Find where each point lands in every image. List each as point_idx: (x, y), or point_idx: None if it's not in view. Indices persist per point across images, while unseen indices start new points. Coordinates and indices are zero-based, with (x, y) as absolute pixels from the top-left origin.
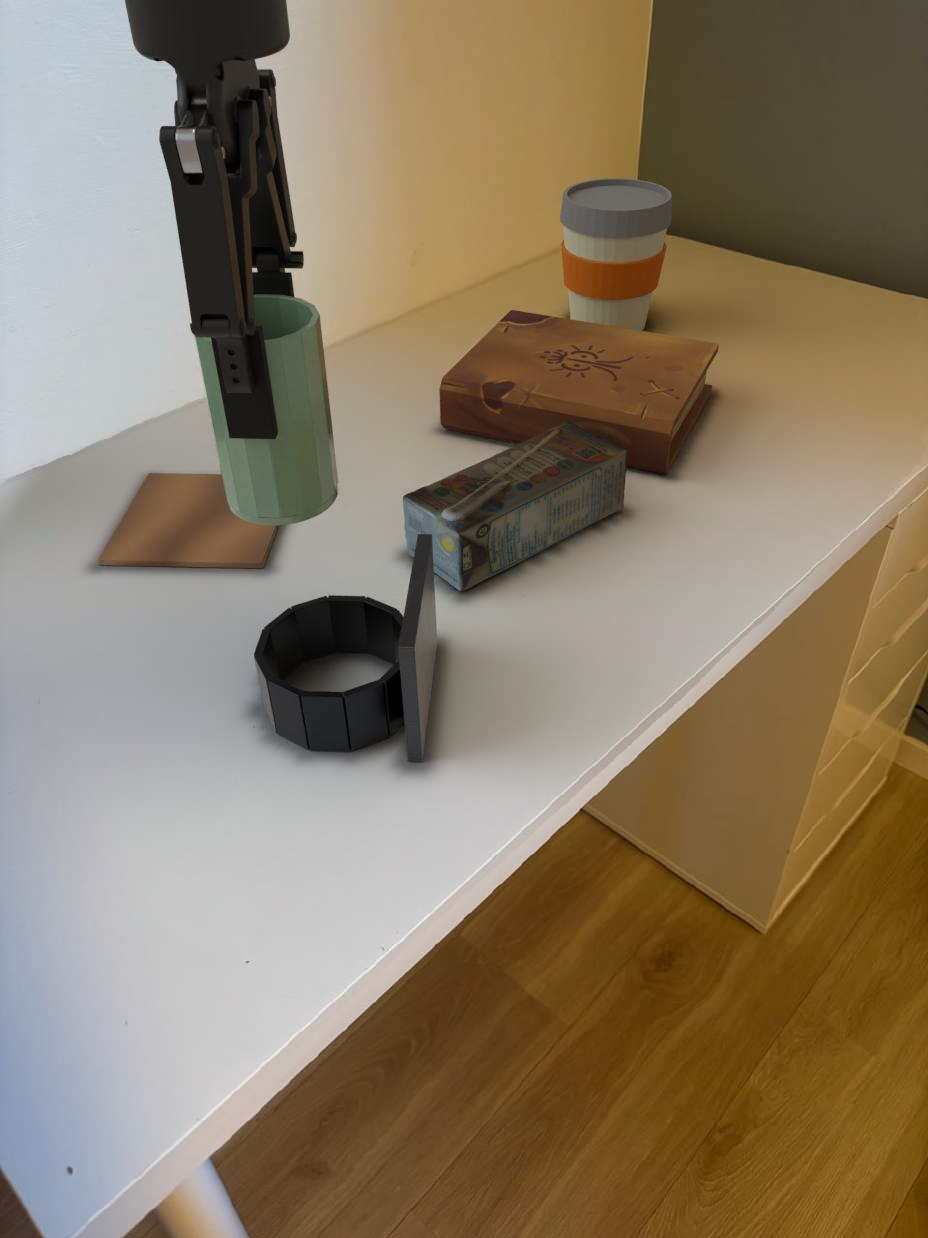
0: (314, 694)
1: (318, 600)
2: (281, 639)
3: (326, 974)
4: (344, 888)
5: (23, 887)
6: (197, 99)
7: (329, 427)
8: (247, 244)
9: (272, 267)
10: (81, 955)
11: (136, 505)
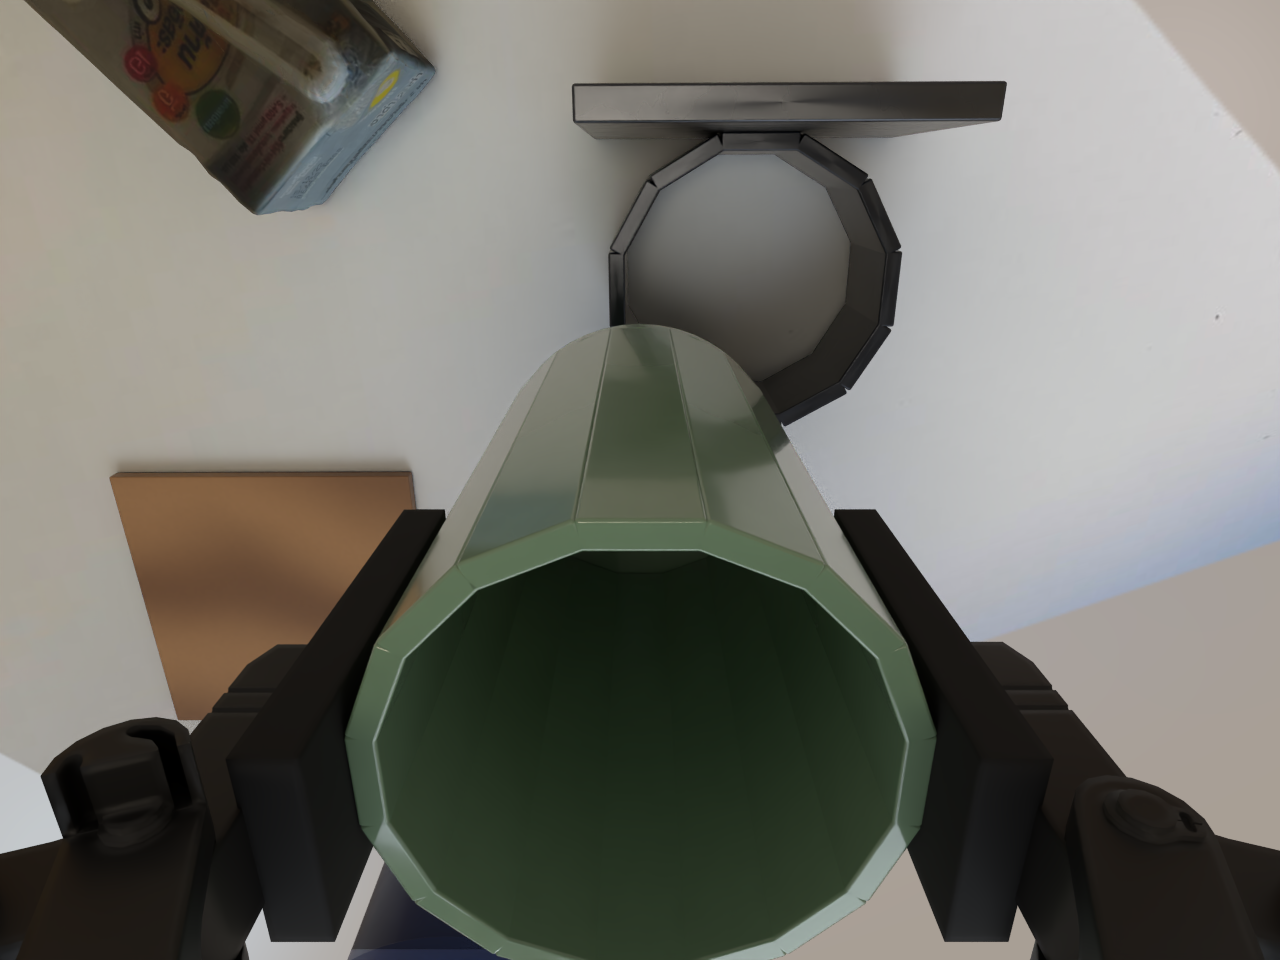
0: (889, 303)
1: None
2: None
3: (1260, 208)
4: (1126, 206)
5: (1055, 603)
6: None
7: (643, 369)
8: None
9: (234, 860)
10: (1165, 512)
11: None
